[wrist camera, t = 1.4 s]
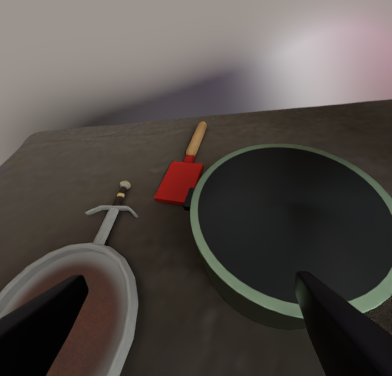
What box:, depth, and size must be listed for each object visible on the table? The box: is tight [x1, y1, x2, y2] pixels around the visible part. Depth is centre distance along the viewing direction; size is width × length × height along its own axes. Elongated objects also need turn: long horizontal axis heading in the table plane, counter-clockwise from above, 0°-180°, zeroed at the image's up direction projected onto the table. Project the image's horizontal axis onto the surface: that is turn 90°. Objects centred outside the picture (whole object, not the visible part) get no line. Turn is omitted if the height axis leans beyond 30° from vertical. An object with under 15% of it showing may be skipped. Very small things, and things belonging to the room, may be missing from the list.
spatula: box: [154, 122, 207, 205], centre depth 33 cm, size 19×6×2 cm, turn 165°
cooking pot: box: [183, 144, 392, 329], centre depth 19 cm, size 16×18×9 cm
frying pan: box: [0, 181, 139, 376], centre depth 23 cm, size 17×3×28 cm
